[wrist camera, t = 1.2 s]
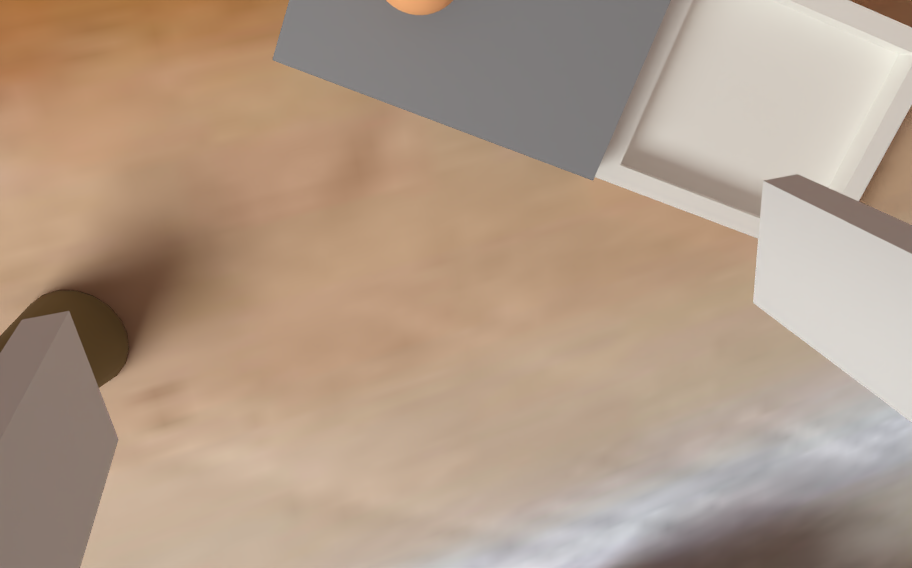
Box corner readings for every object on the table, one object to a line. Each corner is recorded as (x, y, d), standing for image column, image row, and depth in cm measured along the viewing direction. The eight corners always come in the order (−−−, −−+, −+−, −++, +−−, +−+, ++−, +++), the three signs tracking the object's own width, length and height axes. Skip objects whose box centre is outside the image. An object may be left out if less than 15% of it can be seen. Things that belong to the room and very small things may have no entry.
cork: (40, 271, 41) (-96, 352, 30) (144, 319, 42) (47, 413, 31) (5, 360, 42) (-136, 466, 32) (107, 404, 44) (2, 521, 33)
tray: (920, 41, 38) (946, 42, 36) (807, 253, 42) (824, 263, 40) (684, -60, 36) (698, -65, 34) (586, 169, 40) (593, 176, 38)
